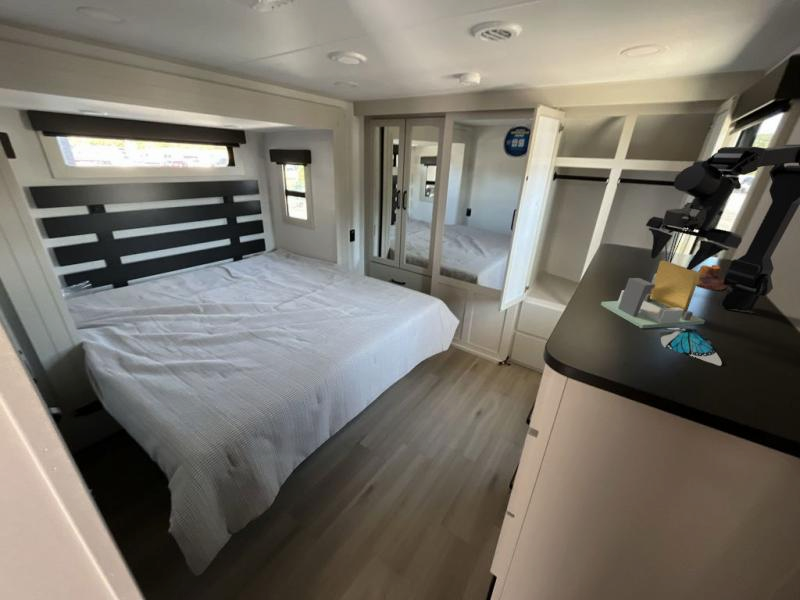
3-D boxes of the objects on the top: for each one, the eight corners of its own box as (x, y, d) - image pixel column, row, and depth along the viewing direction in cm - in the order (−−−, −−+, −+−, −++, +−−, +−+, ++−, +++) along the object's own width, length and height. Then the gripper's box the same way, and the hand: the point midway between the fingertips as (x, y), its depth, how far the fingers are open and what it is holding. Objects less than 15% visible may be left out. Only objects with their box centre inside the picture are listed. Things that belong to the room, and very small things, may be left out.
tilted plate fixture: (656, 301, 97) (669, 270, 93) (703, 323, 85) (720, 289, 81) (600, 304, 94) (611, 272, 89) (641, 328, 81) (656, 292, 77)
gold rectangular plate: (652, 300, 94) (664, 260, 89) (685, 315, 85) (701, 272, 80) (648, 301, 94) (659, 261, 88) (681, 316, 85) (696, 273, 80)
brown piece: (693, 288, 110) (702, 268, 107) (677, 277, 120) (685, 258, 117) (734, 293, 107) (744, 273, 104) (713, 281, 118) (723, 262, 114)
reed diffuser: (661, 293, 104) (687, 233, 96) (638, 286, 109) (660, 228, 101) (672, 287, 110) (697, 230, 101) (650, 280, 115) (671, 225, 106)
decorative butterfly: (657, 318, 79) (713, 320, 73) (656, 342, 81) (710, 345, 75) (663, 336, 71) (725, 339, 65) (661, 361, 73) (722, 367, 67)
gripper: (648, 189, 81) (617, 246, 86) (734, 199, 64) (688, 269, 70) (676, 200, 84) (644, 255, 90) (763, 213, 68) (717, 278, 74)
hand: (669, 263), depth 81 cm, fingers open, 9 cm apart
